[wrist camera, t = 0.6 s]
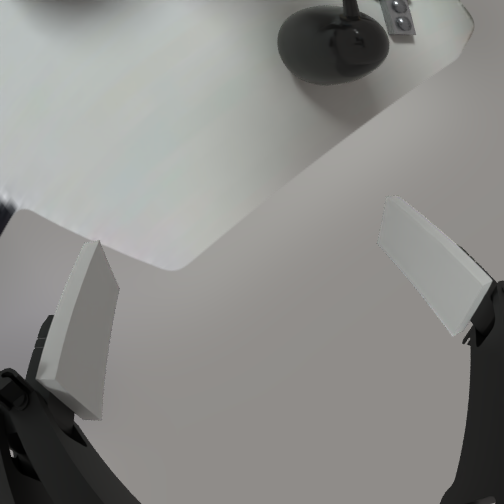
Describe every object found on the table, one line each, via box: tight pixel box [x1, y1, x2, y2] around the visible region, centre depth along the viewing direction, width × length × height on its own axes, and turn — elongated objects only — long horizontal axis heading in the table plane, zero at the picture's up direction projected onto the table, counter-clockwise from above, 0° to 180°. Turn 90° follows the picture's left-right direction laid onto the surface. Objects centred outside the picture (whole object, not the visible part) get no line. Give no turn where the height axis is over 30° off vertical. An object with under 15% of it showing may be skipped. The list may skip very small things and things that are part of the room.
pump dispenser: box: [278, 0, 389, 85], centre depth 22 cm, size 10×10×15 cm
